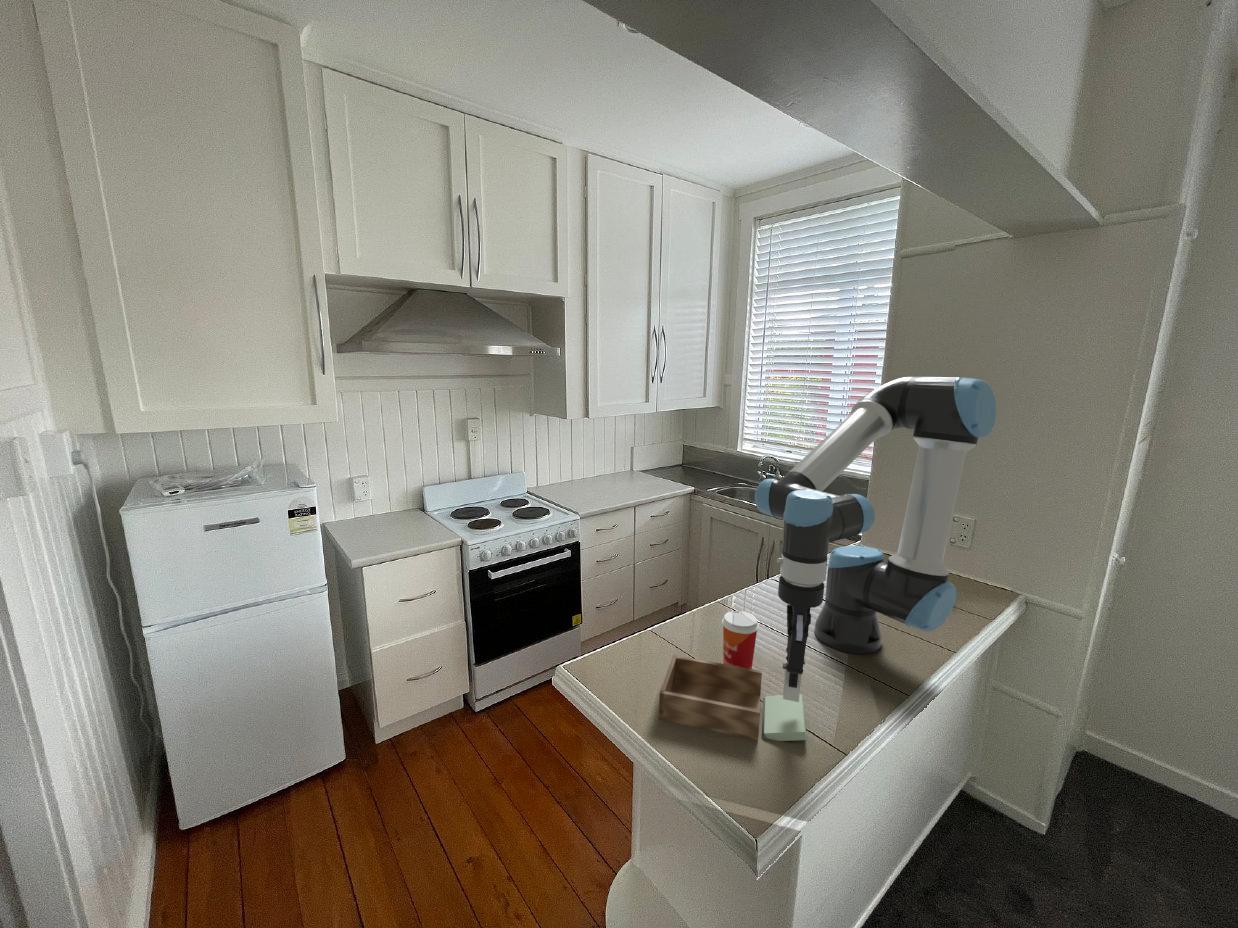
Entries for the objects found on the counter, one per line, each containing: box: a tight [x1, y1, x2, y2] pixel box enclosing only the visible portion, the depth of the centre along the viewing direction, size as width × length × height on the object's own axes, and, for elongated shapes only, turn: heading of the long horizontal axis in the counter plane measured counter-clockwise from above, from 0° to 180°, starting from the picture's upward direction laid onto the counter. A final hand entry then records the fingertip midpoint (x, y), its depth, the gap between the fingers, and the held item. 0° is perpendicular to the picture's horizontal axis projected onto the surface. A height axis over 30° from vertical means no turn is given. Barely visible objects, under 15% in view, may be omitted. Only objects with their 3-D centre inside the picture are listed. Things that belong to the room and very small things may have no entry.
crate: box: [658, 654, 763, 741], centre depth 98 cm, size 18×13×6 cm
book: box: [761, 693, 808, 742], centre depth 94 cm, size 2×11×8 cm
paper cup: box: [721, 610, 760, 669], centre depth 108 cm, size 8×8×14 cm
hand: (790, 698), depth 93 cm, fingers closed
